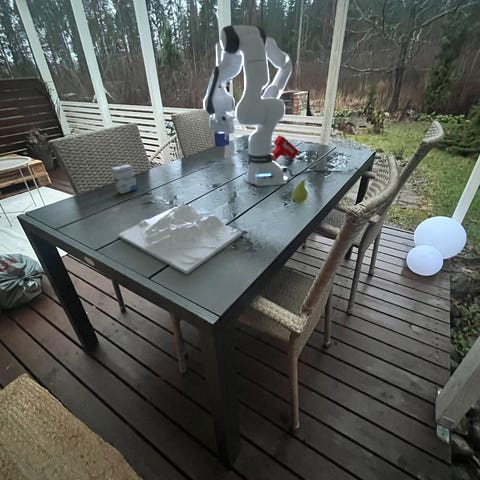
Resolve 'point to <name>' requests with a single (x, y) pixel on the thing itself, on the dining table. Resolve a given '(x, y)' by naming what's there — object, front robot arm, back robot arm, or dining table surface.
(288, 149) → the red power drill
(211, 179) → the dining table surface
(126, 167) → the ink box
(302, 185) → the fruit
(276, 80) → the back robot arm
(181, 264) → the relief map
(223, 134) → the block
